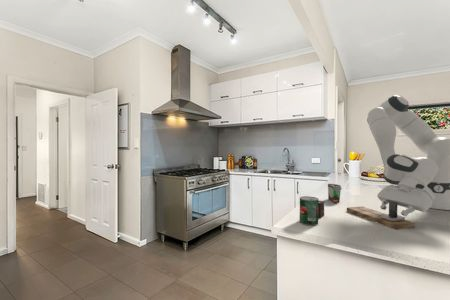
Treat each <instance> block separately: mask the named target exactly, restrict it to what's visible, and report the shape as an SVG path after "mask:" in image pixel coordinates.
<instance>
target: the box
mask: <svg viewBox="0 0 450 300" xmlns="http://www.w3.org/2000/svg"><path fill="white" fill-rule="evenodd" d="M323 217H325V201H324V200H320V199H319V200H318V219H322V218H323Z"/></svg>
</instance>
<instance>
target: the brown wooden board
mask: <svg viewBox="0 0 450 300" xmlns="http://www.w3.org/2000/svg"><path fill="white" fill-rule="evenodd" d="M346 212H348V213H350V214H353V215H354V216H355V215H356V216H358V217H360V216H361V218H363V219H366V220H368V221H370V222H371V221H372V222H373V223H377V224H380V225H382V226H384V227H388V228H389V229H390V228H391V229H393V230H403V229H411V228H412V229H414V228H415V222H413V221H410V220H406V219H405V220H401V221H390V220H387V219H384V218H381V215H386V214H387V213H385V212H382V211H378V210H374V209H372V208H369V207H365V206H363V205H362V206H350V207H346ZM413 227H414V228H413Z"/></svg>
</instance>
